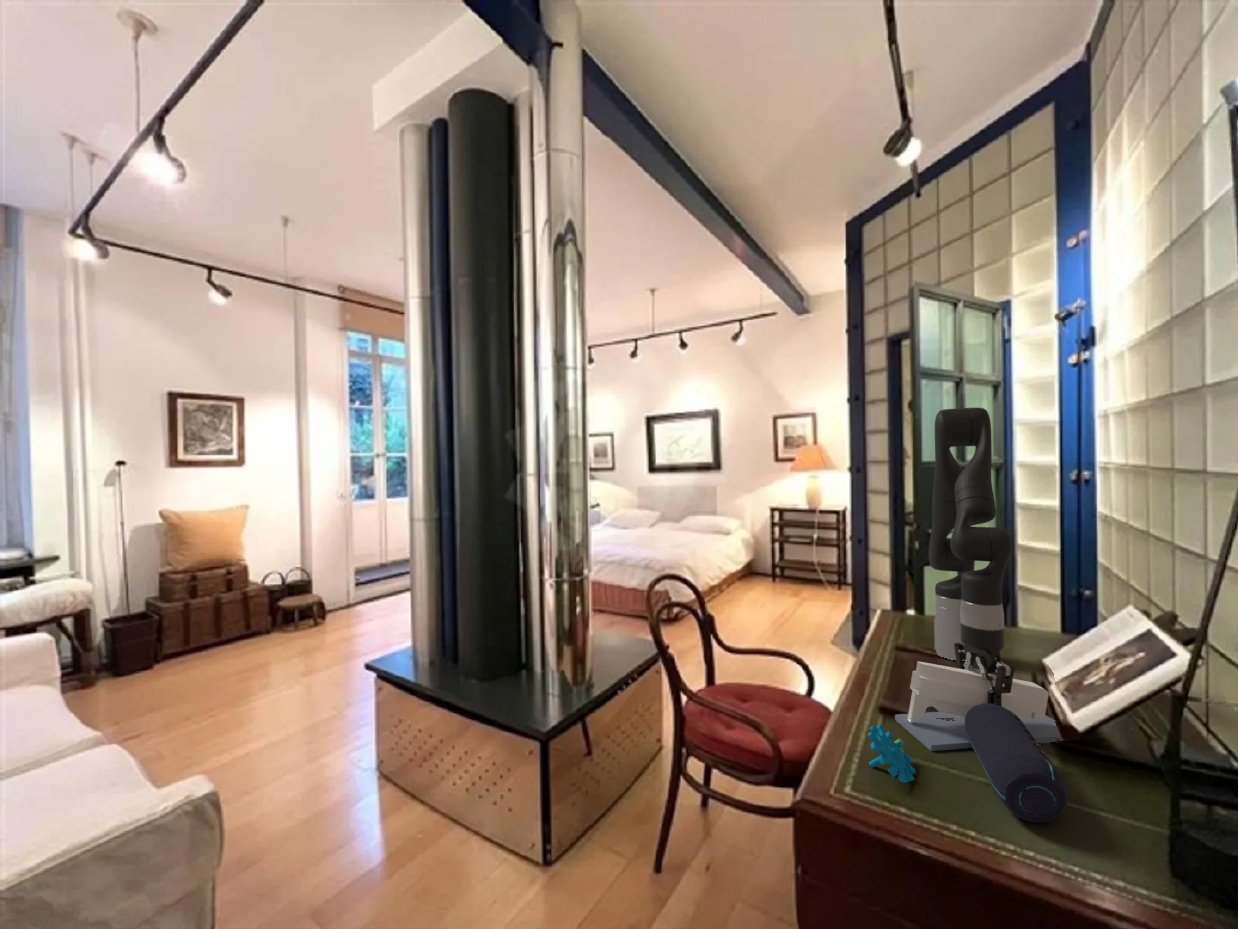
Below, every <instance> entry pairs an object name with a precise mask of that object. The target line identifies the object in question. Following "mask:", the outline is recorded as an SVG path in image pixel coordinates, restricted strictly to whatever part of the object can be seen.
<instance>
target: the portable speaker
mask: <svg viewBox="0 0 1238 929" xmlns="http://www.w3.org/2000/svg"><path fill="white" fill-rule="evenodd" d="M964 723H965V729H966V734H967V737H968V739H969V741H970V743H971V745H972V747H973V748H972V749H973V751H974V754H975V756H976V757H977V760H978V761H979V763H980V766H981V768H982V769H983V771H984V773H985V776H986V777H987V779H988V781H989V783H990V785H991V787H992V789H993V791H994V794H995V795H996V796H997V798H998V799H999V800H1000V801H1001V803H1002V804H1003V805H1004V806H1005V808H1007V810H1008V811H1009V812H1011V813H1012V814H1013V815H1014V816H1016V817H1018V818H1020V819H1022V820H1023V821H1025V822H1026V821H1027V822H1028V823H1029V822H1030V823H1041V824H1043V823H1046V822H1050V821H1054V819H1056V818H1057V817H1059V816H1060V815H1061V814H1063V812H1064V811H1065V809H1066V807H1067V805H1068V802H1069V789H1068V787H1067V784H1066V782H1065V779H1064V776H1063V775H1062V774H1061V773H1060V771H1059V769H1058V768H1056V766H1055V765H1054V762H1052V761H1051V759H1050V758H1049V756H1048V755H1047V754H1046V753H1045V751H1044V750H1043V748H1042V747H1041V746H1040V745H1041V744H1038V743H1037V741H1036V740H1035V738H1034V737H1033V736H1032V734H1031V733H1030V732H1029V730H1028V729H1027V728H1026V726H1025V725H1024V723H1023V722H1022V721H1021V720H1020V719H1019V717H1018V716H1017V715H1016V714H1014V713H1013V712H1012V711H1009V710H1008V709H1006V708H1004V707H1002V706H999V705H995V704H990V703H984V704H979V705H976V706H974V707H972V708H971V709H970V710H969V711H968V712H967V714H966V717H965V722H964Z"/></svg>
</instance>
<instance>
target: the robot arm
mask: <svg viewBox="0 0 1238 929" xmlns="http://www.w3.org/2000/svg"><path fill="white" fill-rule="evenodd" d="M992 443H993V442H992V423H991V418H990V414H989V412H988V411H987V409H985V408H984V407H960V408H959V407H958V408H945V409H944V408H943V409H941V410H939V411H938V412H937V413H936V416H935V420H934V463H935V465H934V475H933V476H934V477H933V486H932V517H931V518H932V521H931V522H932V523H931V532H930V538H929V545H928V561H929V564H930V567H931V568H932V569H934V570H936V571H943V572H959V573H958V574H957V575H956V576H955V577H952V578H950V579H949V578H948V579H947V580H941V581H939V582H937V583H936V584H935V587H934V590H935V592H934V594H935V597H934V598H935V617H934V618H933V627H934V628H933V634H934V635H933V636H934V637H933V638H934V651H935V650H936V651H935V652H937V653H936V655H937V656H939V657H941V658H943V657H944V658H943V659H945V658H947V659H946V660H949V659H950V661H953V660H956V661H955V662H956V668H958V669H964V670H970V671H975V672H981V675H982V678H983V680H985V681H986V684H987V688H988V703H990V704H995V705H999V706H1002V704H1001V703H1002V702H1001V701H1002V698H1001V695H1002V693H1011V687H1012V681H1013V679H1014V674H1015V667H1014V665H1013V664H1006V663H1004V662H1003V661H1002V657H1001V651H1002V650H1003V649H1004V648H1005V615H1004V614H1005V612H1004V608H1003V582H1004V581H1003V580H1004V576H1005V572H1006V569H1007V565H1008V562H1009V560H1010V557H1011V555H1012V551H1013V543H1014V542H1013V538H1012V537H1011V534H1010V533H1009V532H1008V531H1007V530H1006V529H1004V528H1001V527H994V526H993V527H992V526H990V527H989V526H988V527H986V526H977V525H981V524H985V523H989V522H991V521H993V520H994V519H995V518H996V515H997V509H996V503H995V502H996V501H995V497H994V490H993V482H992V460H993V459H992V456H993V453H992V450H993V449H992V448H993V447H992ZM955 447H974V453H973V456H972V457H971V459H970V460H969V462H968V463H967V465H966V466H965V467H964V468H963V467H962V466H960V464H959V462H958V461H957V460H956V459H955V457H954V455H953V453H952V451H951V448H955ZM975 525H976V526H975ZM951 532H952V533H951ZM950 533H951V534H952V535H951V537H948V536H949V535H950ZM976 562H989V563H988V565H987V566H986V567H984V568H981V569H975V564H976ZM962 661H965V662H964V663H963V662H962ZM988 674H993V675H994V676H989V675H988ZM992 680H995V686H993V683H992ZM1003 684H1004V686H1003Z"/></svg>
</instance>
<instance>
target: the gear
mask: <svg viewBox="0 0 1238 929" xmlns="http://www.w3.org/2000/svg"><path fill="white" fill-rule="evenodd" d="M869 730H870V732H869V733H867V737H868V739H869V740H870V741H872V742H871V743H870V747H871V750H872V751H873V752H877V753H878V754H879V756H877V757H876V758H874V759H872V760H870V761H869V762H868V764H869V766H870V767H871V768H875V767H877V766H878V765H882V766H883V765H885V764H888V765H889V766H890V768H888V769H887V772H888V773H889V775H890V776H892V778H894V777H896V776H897V777H898V780H899V782H901V783H903V784H905V783H907V782H909V783H911V782H912V781H914V780H915V777H914V776H913V775H914V774H916V769H915V767H914V766H912V765H911V763H912V762H913V760H912V757H911V755H909V754H907V753H905V750H904V749H905V746H904V740H903V739H902V738H901V737H900V738H898V739H896V740H895V741H893V739H894V738H895V735H894V734H893V732H891V731H890V730H889V731H887V732H886V729H885V727H883V726H882V725H880V724H878V725H877V726H876V725H872V726H871V727H869Z"/></svg>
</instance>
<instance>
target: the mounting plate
mask: <svg viewBox="0 0 1238 929" xmlns="http://www.w3.org/2000/svg"><path fill="white" fill-rule="evenodd" d="M936 718H954V719H953V720H955V721H952V720H950V721H946V720H945V719H944V720H942V719H936ZM1019 719H1020V720H1021V721H1022V722H1023V723H1024V725H1025V726H1026V728H1027V729H1028V730H1029V732H1030V733H1031V734H1032V736H1033V737H1034V738H1035V740H1036V741H1037V743H1042V744H1051V743H1050V742H1055V741H1057V739H1058V738H1059V736H1060V735H1059V733H1058V731H1057V727H1056V723H1055V721H1056V720H1055V719H1053V717H1052V718H1051V717H1050V716H1048V715H1046V714H1045V718H1044V719H1043V720H1041V721H1040V720H1035V719H1033V718H1031V719H1030V718H1025V717H1021V718H1019ZM894 720H895V721H896V722H897V723H898V724H899V725H900V724H901V725H900V726H901V727H902V728H904V730H906V731H907V730H908V731H907V732H908V733H910V735H912V736H913V737H915V739H916V740H918V742H920V743H921V744H922V745H924V747H926V749H928V750H929V751H930V752H937V751H938V752H939V751H950V750H951V751H952V750H969V749H968V748H970V749H973V747H972V745H971V743H970V741H969V739H968V737H967V734H966V729H965V723H964V722H965V717H962V716H957V715H953V714H948V713H944V712H939V711H931V712H925V715H924V716H923V717H922V718H921V719H919V720H918V721H915V722H910V721H909V720H908V713H899V714H895V715H894Z"/></svg>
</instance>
